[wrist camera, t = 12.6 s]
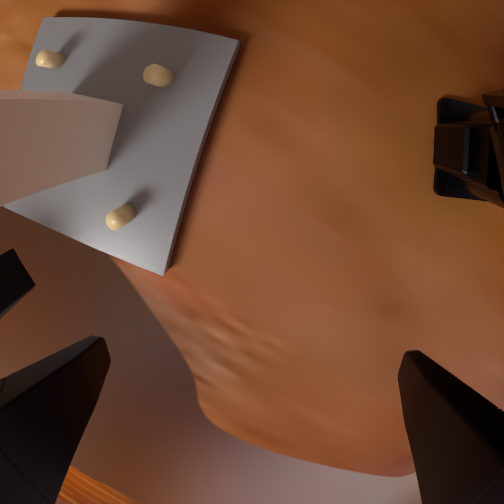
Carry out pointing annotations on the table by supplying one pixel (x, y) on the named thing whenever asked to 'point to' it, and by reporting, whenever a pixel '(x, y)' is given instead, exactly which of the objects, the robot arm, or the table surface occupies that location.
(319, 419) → the table surface
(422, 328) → the table surface
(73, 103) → the cream block
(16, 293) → the electronic device
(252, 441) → the table surface
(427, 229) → the table surface
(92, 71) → the mount plate
